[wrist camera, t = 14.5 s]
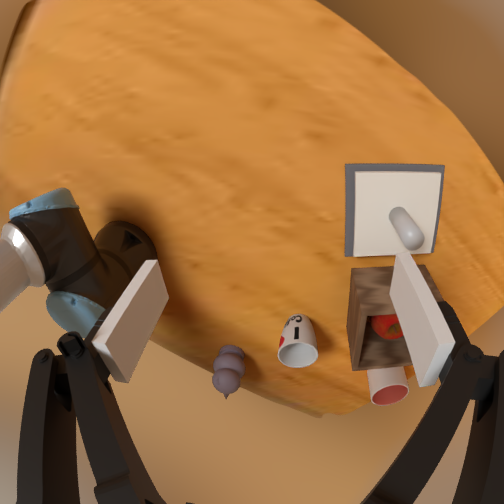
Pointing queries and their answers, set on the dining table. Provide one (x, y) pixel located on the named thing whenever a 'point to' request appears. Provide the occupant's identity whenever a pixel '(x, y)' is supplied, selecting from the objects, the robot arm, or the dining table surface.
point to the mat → (352, 168)
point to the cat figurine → (228, 369)
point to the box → (370, 304)
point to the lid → (395, 212)
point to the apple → (387, 326)
